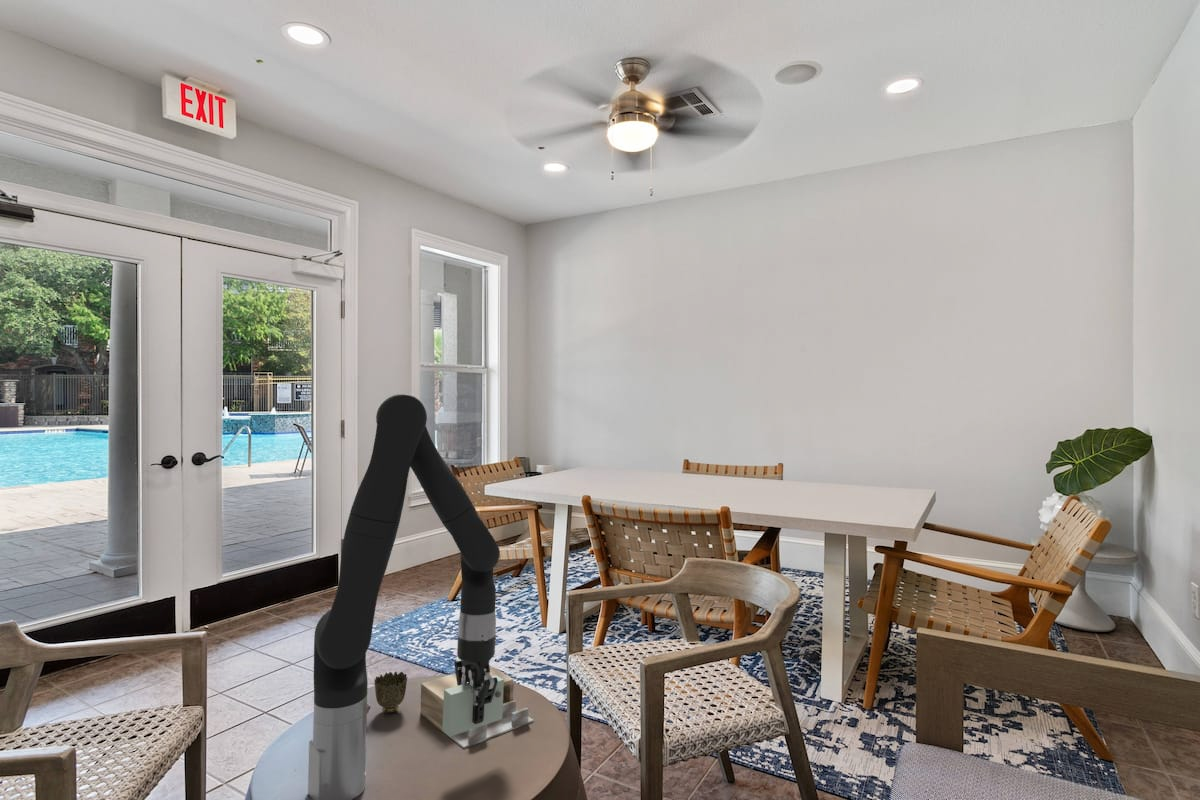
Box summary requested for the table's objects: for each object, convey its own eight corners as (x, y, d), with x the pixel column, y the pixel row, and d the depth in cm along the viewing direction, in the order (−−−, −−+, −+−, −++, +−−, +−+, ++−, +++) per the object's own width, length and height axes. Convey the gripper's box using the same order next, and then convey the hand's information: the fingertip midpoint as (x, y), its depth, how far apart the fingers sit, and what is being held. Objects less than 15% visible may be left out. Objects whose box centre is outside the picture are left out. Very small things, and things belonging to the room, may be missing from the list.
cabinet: (463, 748, 130) (464, 715, 130) (420, 713, 145) (421, 683, 145) (533, 721, 142) (534, 690, 142) (486, 691, 157) (487, 663, 157)
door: (452, 738, 119) (453, 696, 119) (442, 730, 122) (444, 689, 122) (504, 720, 127) (506, 681, 127) (494, 713, 130) (496, 674, 130)
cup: (372, 707, 148) (373, 673, 148) (404, 702, 151) (405, 669, 151) (375, 721, 141) (376, 686, 141) (408, 715, 144) (409, 680, 144)
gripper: (443, 627, 128) (440, 711, 128) (478, 646, 118) (474, 739, 117) (475, 620, 133) (472, 701, 133) (511, 638, 123) (508, 727, 122)
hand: (473, 718), depth 125 cm, fingers closed on door, 3 cm apart
